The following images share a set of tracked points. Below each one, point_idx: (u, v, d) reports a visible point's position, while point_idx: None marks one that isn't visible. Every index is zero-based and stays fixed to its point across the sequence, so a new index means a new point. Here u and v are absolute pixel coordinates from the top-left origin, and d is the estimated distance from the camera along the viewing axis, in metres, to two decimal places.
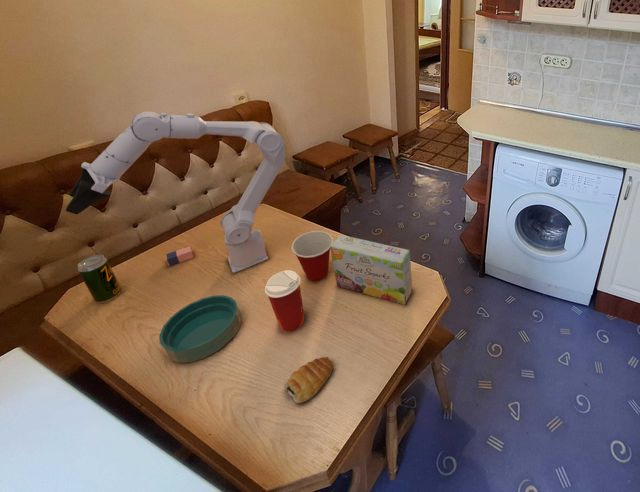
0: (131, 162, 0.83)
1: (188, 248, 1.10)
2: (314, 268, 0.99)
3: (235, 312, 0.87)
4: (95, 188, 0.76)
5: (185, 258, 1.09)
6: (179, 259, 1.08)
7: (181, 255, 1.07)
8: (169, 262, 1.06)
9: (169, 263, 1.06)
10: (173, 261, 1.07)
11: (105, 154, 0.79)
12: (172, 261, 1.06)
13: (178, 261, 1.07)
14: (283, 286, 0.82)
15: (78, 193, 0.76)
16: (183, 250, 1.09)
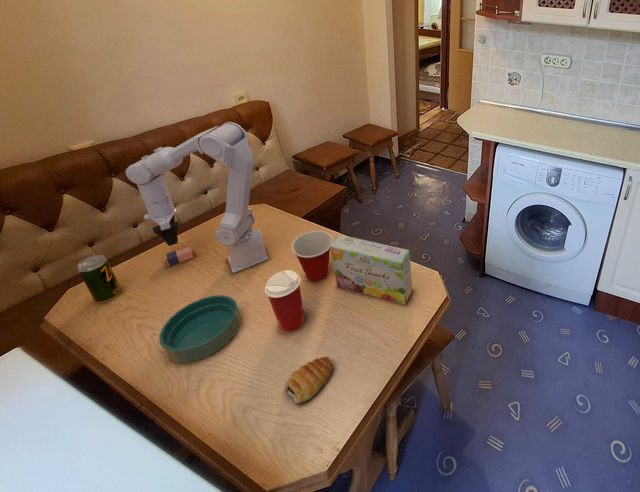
0: (159, 201, 0.99)
1: (188, 248, 1.10)
2: (314, 268, 0.99)
3: (235, 312, 0.87)
4: (163, 228, 0.97)
5: (185, 258, 1.09)
6: (179, 259, 1.08)
7: (181, 255, 1.07)
8: (169, 262, 1.06)
9: (169, 263, 1.06)
10: (173, 261, 1.07)
11: (146, 205, 0.98)
12: (172, 261, 1.06)
13: (178, 261, 1.07)
14: (283, 286, 0.82)
15: (160, 235, 0.99)
16: (183, 250, 1.09)
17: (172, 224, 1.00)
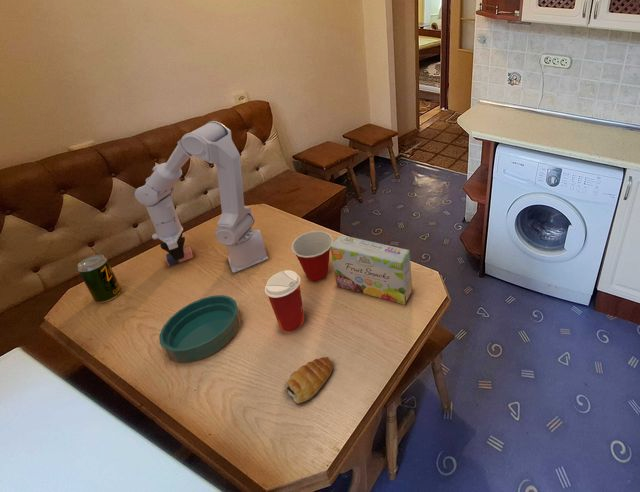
0: (167, 221, 1.01)
1: (188, 248, 1.10)
2: (314, 268, 0.99)
3: (235, 312, 0.87)
4: (170, 248, 1.00)
5: (185, 258, 1.09)
6: (179, 259, 1.08)
7: None
8: (169, 262, 1.06)
9: (169, 263, 1.06)
10: (173, 261, 1.07)
11: (154, 225, 1.01)
12: (172, 261, 1.06)
13: (178, 261, 1.07)
14: (283, 286, 0.82)
15: (167, 251, 1.03)
16: None
17: (179, 240, 1.04)
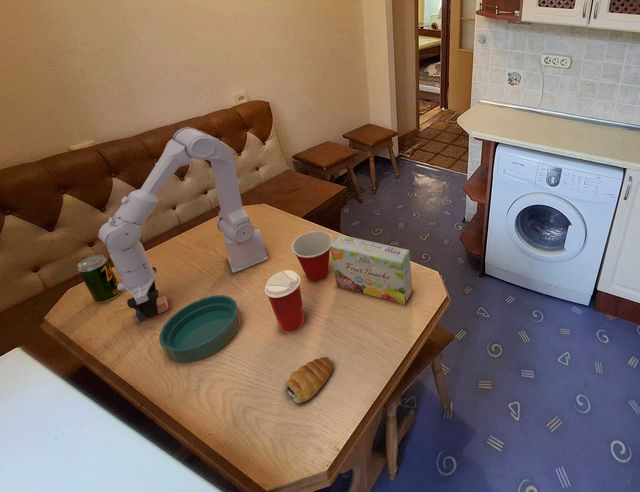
0: (146, 261, 0.86)
1: (163, 298, 0.93)
2: (314, 268, 0.99)
3: (235, 312, 0.87)
4: (139, 302, 0.83)
5: (159, 311, 0.91)
6: None
7: None
8: (139, 317, 0.88)
9: (139, 318, 0.89)
10: (143, 316, 0.89)
11: (119, 274, 0.83)
12: (142, 316, 0.89)
13: None
14: (283, 286, 0.82)
15: (136, 308, 0.84)
16: None
17: (150, 294, 0.86)
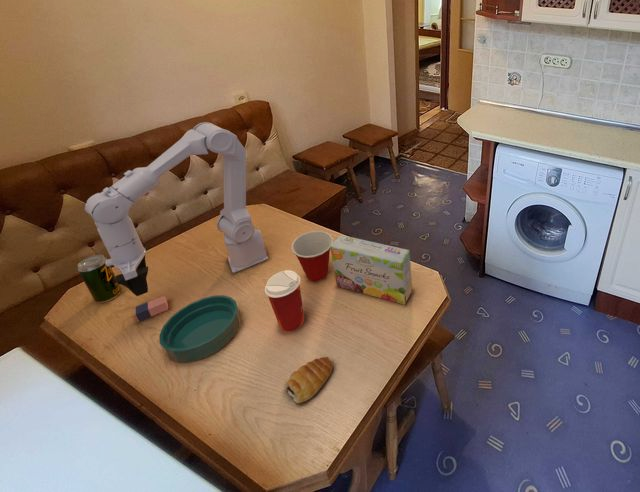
0: (135, 236, 0.83)
1: (163, 298, 0.93)
2: (314, 268, 0.99)
3: (235, 312, 0.87)
4: (127, 278, 0.80)
5: (159, 311, 0.91)
6: (151, 313, 0.90)
7: (153, 307, 0.90)
8: (139, 317, 0.88)
9: (138, 318, 0.89)
10: (143, 315, 0.89)
11: (107, 249, 0.80)
12: (142, 316, 0.89)
13: (150, 315, 0.90)
14: (283, 286, 0.82)
15: (125, 285, 0.81)
16: (156, 301, 0.92)
17: (140, 271, 0.83)
